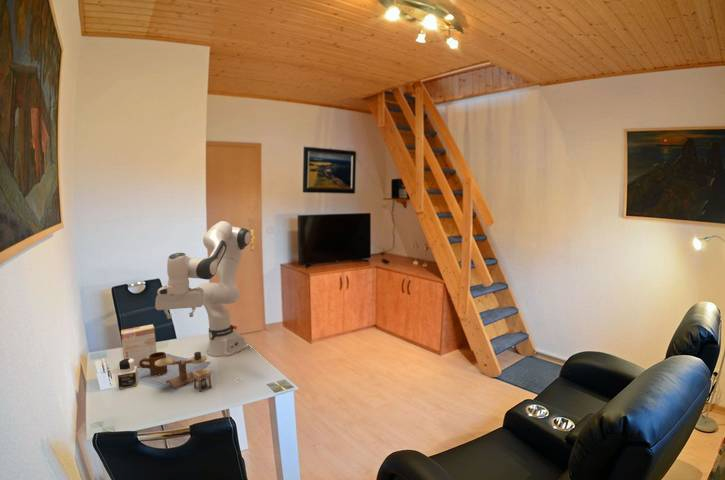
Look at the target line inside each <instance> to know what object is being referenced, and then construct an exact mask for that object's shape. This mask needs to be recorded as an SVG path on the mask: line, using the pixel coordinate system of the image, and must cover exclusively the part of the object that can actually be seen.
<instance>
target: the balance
mask: <svg viewBox="0 0 725 480" xmlns="http://www.w3.org/2000/svg"><path fill="white" fill-rule="evenodd" d="M193 354H194V356H192V357H190V358H189V359H188V360H186V359H185V360H183V359H180V360H176V361H175V358H174V357H166V358H162V359H159V360H157V361H156V362H155V366H167V367H168V366H172V365H173V366H175V365H178V374H179V375H178V376H176V377H174V378H171V379H167V380H166V382H167V383H169V384H170V385H171V386H172V387H173V388H172V387H171V386H170V385H169V386H170V387H171V388H172V389H174V390H177V389H180V388H182V387H185V386H187V385H190V384H192V383H193V384H194V381H193V372H192V371H190V372H187V364H193V365H195V364H201V363H204V362H206V361H207V359H208V357H207V356H206V355H202V352H201V351H195V352H194V353H193ZM196 382H198V380H197V379H196ZM167 383H166V384H167Z"/></svg>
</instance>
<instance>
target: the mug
mask: <svg viewBox="0 0 725 480" xmlns="http://www.w3.org/2000/svg"><path fill="white" fill-rule="evenodd" d="M162 358H167V354H166V352H164V351H158V352H157V353H153V354H151V355H150V356H149V358H143V359H141V360H140V362H139V365H140V367H139V368H142V369H149V372H150V375H151V376H153V375H159V374H162V375H164V374H163V373H165V372H166V371H168V365H167V366H155V362H156V361H157V360H159V359H162ZM144 361H145V362H149V364H150V365H148V364H147V365H144V364H143V362H144ZM166 373H167V372H166ZM166 373H165V374H166ZM159 376H160V375H159Z"/></svg>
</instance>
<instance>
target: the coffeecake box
mask: <svg viewBox="0 0 725 480" xmlns="http://www.w3.org/2000/svg"><path fill="white" fill-rule="evenodd" d="M155 331H156V330H155V326H154V324H147V325H142V326H136V327H131V328H125V329H121V330H120V336H121V346H122V355H123V360H124V359H128V358H131V359H134V364H135V366H137V369H138V368H141V367H140V365H139V362H140V360H141V359H143V358H149V356H150V355H151V354H153V353H157V343H156V342H157V341H156V332H155ZM143 364H144V365H147V364H148V365H150V364H149V362H145V361H144V362H143Z"/></svg>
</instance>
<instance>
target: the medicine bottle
mask: <svg viewBox="0 0 725 480" xmlns="http://www.w3.org/2000/svg"><path fill="white" fill-rule="evenodd" d="M118 366H119V371H118V373H117V380H118V389H119V390H123V389H127V388H133V387H136V386H138V381H139V373H138V372H139V371H138V368H137V366H135V364H134V359H131V358H128V359H124V358H123V359H122V360H120V361H119V365H118Z"/></svg>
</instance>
